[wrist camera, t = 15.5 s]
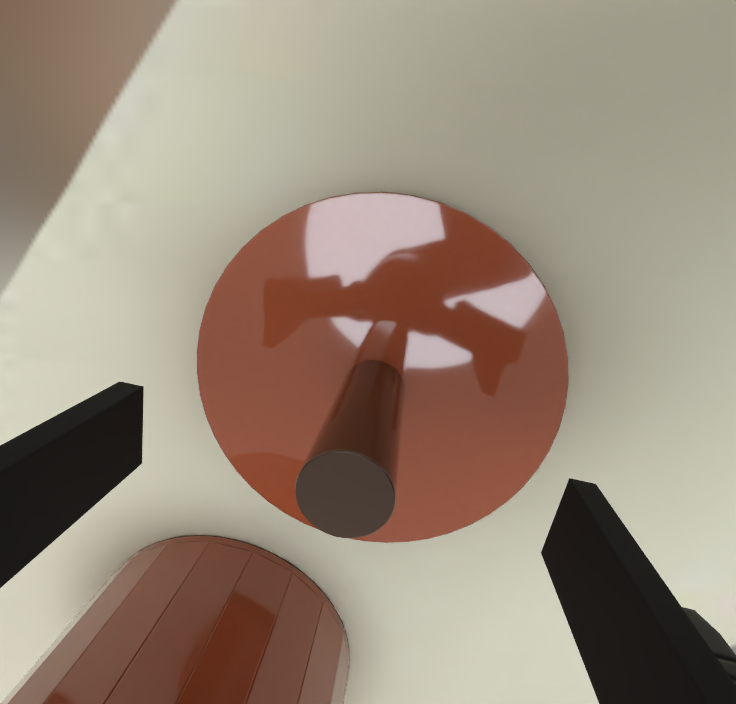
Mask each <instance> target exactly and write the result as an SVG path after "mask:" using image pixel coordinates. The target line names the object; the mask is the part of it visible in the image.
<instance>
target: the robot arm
mask: <svg viewBox="0 0 736 704" xmlns="http://www.w3.org/2000/svg"><path fill="white" fill-rule="evenodd" d="M142 432H143V386H138V385H133V384H129V383H124V382H118V383H116V384H114V385H112V386H111V387H109V388H107V389H105V390H103V391H101V392H99V393H98V394H96V395H94V396H92V397H90V398H88V399H86V400H85V401H83V402H81V403H79V404H77V405H75V406H73V407H71V408H70V409H68V410H66V411H64V412H62V413H60V414H58V415H57V416H55V417H53V418H51V419H49V420H47V421H45V422H43V423H42V424H40V425H38V426H36V427H34V428H32V429H30V430H29V431H27V432H25V433H23V434H21V435H19V436H17V437H15V438H14V439H12V440H10V441H8V442H6V443H4V444H2V445H1V446H0V588H1V587H2V586H3V585H4V584H5V583H6V582H8V581H9V580H10V579H11V578H12V577H13V576H14V575H16V574H17V573H18V572H19V571H20V570H21V569H22V568H24V567H25V566H26V565H27V564H28V563H29V562H30V561H31V560H33V559H34V558H35V557H36V556H37V555H38V554H39V553H41V552H42V551H43V550H44V549H45V548H46V547H47V546H49V545H50V544H51V543H52V542H53V541H54V540H55V539H56V538H58V537H59V536H60V535H61V534H62V533H63V532H64V531H66V530H67V529H68V528H69V527H70V526H71V525H72V524H74V523H75V522H76V521H77V520H78V519H79V518H80V517H81V516H83V515H84V514H85V513H86V512H87V511H88V510H89V509H91V508H92V507H93V506H94V505H95V504H96V503H97V502H99V501H100V500H101V499H102V498H103V497H104V496H105V495H106V494H108V493H109V492H110V491H111V490H112V489H113V488H114V487H116V486H117V485H118V484H119V483H120V482H121V481H122V480H124V479H125V478H126V477H127V476H128V475H129V474H130V473H131V472H133V471H134V470H135V469H136V468H137V467H138V466H139V465H141V464H142ZM541 554H542V556H543V559H544V561H545V564H546V567H547V569H548V572H549V574H550V577H551V580H552V582H553V585H554V587H555V590H556V593H557V595H558V598H559V600H560V603H561V605H562V608H563V611H564V613H565V616H566V618H567V621H568V624H569V626H570V629H571V631H572V634H573V637H574V639H575V642H576V644H577V647H578V649H579V652H580V655H581V657H582V660H583V662H584V665H585V668H586V670H587V673H588V675H589V678H590V681H591V683H592V686H593V688H594V691H595V693H596V696H597V699H598V701H599V704H736V655H735V653H734V652H733V651H732V649H731V648H730V647H729V645H728V644H727V643H726V641H725V640H724V639H723V637H722V636H721V635H720V633H718V632H717V631H716V630H715V629H714V628H713V627H712V626H711V625H710V624H709V623H708V622H707V621H706V620H704V619H703V618H702V617H701V616H700V615H699V614H698V613H697V612H696V611H695V610H692V609H687V608H683V607H681V606H680V604H679V603H678V601H677V600H676V598H675V597H674V596H673V594H672V593H671V591H670V590H669V588H668V587H667V586H666V584H665V583H664V581H663V580H662V578H661V577H660V576H659V574H658V573H657V571H656V570H655V568H654V567H653V565H652V564H651V563H650V561H649V560H648V558H647V557H646V555H645V554H644V553H643V551H642V550H641V548H640V547H639V545H638V544H637V543H636V541H635V540H634V538H633V537H632V535H631V534H630V533H629V531H628V530H627V528H626V527H625V525H624V524H623V523H622V521H621V520H620V518H619V517H618V515H617V514H616V512H615V511H614V510H613V508H612V507H611V505H610V504H609V502H608V501H607V500H606V498H605V497H604V495H603V494H602V492H601V491H600V490H599V488H598V487H597V485H596V484H593V483H589V482H584V481H579V480H575V479H570V478H569V481H568V484H567V486H566V489H565V491H564V494H563V497H562V499H561V502H560V505H559V507H558V510H557V512H556V515H555V518H554V520H553V523H552V526H551V528H550V531H549V533H548V536H547V539H546V541H545V544H544V546H543V549H542V552H541Z"/></svg>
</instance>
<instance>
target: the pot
mask: <svg viewBox="0 0 736 704" xmlns="http://www.w3.org/2000/svg"><path fill="white" fill-rule="evenodd" d="M348 672H349V646H348V642H347V637H346V633H345V630H344V627H343V625H342V622H341V619H340V618H339V616H338V614H337V612H336V610H335V608H334V607H333V605H332V604H331V602H330V601H329V600H328V598H327V597H326V596H325V594H324V593H323V592H322V591H321V590H320V589H319V588H318V587H317V586H316V585H315V583H314V582H313V581H311V580H310V579H309V578H308V577H307V576H306V575H304V574H303V573H302V572H301V571H300V570H298V569H297V568H295V567H294V566H292V565H291V564H289V563H288V562H286V561H285V560H283V559H281V558H279V557H278V556H276V555H274V554H272V553H270V552H268V551H266V550H263V549H261V548H258V547H256V546H253V545H250V544H247V543H244V542H240V541H237V540H232V539H227V538H221V537H213V536H184V537H178V538H172V539H167V540H164V541H161V542H158V543H155V544H153V545H150V546H148V547H146V548H144V549H142V550H141V551H139V552H138V553H136V554H135V555H133V556H132V557H130V558H129V559H128V560H127V561H126V562H125V563H124V564H123V565H122V566H121V567H120V569H119V570H118V571H116V572H115V573H114V574H113V575H112V576H111V577H110V578H109V579H108V581H107V582H106V583H105V584H104V585H103V586H102V587H101V589H100V590H99V591H98V592H97V593H96V594H95V596H94V597H93V598H92V599H91V600H90V601H89V602H88V604H87V605H86V606H85V607H84V608H83V609H82V610H81V612H80V613H79V614H78V615H77V616H76V617H75V619H74V620H73V621H72V622H71V623H70V624H69V625H68V627H67V628H66V629H65V630H64V631H63V632H62V633H61V635H60V636H59V637H58V638H57V639H56V640H55V642H54V643H53V644H52V645H51V646H50V647H49V648H48V650H47V651H46V652H45V653H44V654H43V655H42V656H41V658H40V659H39V660H38V661H37V662H36V663H35V665H34V666H33V667H32V668H31V669H30V670H29V671H28V673H27V674H26V675H25V676H24V677H23V678H22V679H21V681H20V682H19V683H18V684H17V685H16V686H15V688H14V689H13V690H12V691H11V692H10V693H9V694H8V696H7V697H6V698H5V699H4V700H3V701H2V702H1V704H344V697H345V691H346V685H347V678H348Z"/></svg>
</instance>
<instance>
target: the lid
mask: <svg viewBox="0 0 736 704" xmlns="http://www.w3.org/2000/svg"><path fill="white" fill-rule="evenodd" d="M197 376H198V383H199V390H200V396H201V400H202V403H203V407H204V411H205V414H206V417H207V420H208V422H209V424H210V427H211V429H212V432H213V434H214V436H215V438H216V440H217V442H218V443H219V445H220V447H221V449H222V450H223V452H224V454H225V455H226V457H227V458H228V460H229V461H230V462H231V464H232V465H233V466H234V468H235V469H236V471H237V472H238V473H239V474H240V475H241V476H242V477H243V478H244V479H245V481H246V482H247V483H248V484H249V485H250V486H251V487H252V488H253V489H254V490H255V491H257V492H258V493H259V494H260V495H261V496H262V497H264V498H265V499H266V500H267V501H268V502H270V503H271V504H273V505H274V506H276V507H277V508H278V509H280V510H281V511H283V512H284V513H286V514H288V515H289V516H291V517H293V518H295V519H297V520H299V521H301V522H302V523H304V524H307V525H309V526H312V527H314V528H316V529H319V530H321V531H323V532H325V533H327V534H330V535H333V536H336V537H342V538H351V539H356V540H362V541H371V542H385V543H388V542H409V541H416V540H422V539H429V538H433V537H436V536H440V535H444V534H448V533H451V532H453V531H456V530H458V529H461V528H463V527H466V526H468V525H471V524H473V523H474V522H476V521H478V520H480V519H482V518H484V517H485V516H487V515H489V514H491V513H492V512H493V511H495V510H496V509H497V508H499V507H500V506H502V505H503V504H504V503H506V502H507V501H508V500H509V499H510V498H512V497H513V496H514V495H515V494H516V493H517V492H518V491H519V490H520V489H521V488H522V487H523V486H524V485H525V484H526V483H527V482H528V480H529V479H530V478H531V477H532V475H533V474H534V473H535V472H536V471H537V469H538V468H539V466H540V465H541V463H542V461H543V460H544V458H545V457H546V455H547V453H548V452H549V450H550V448H551V446H552V443H553V441H554V439H555V437H556V434H557V432H558V430H559V427H560V423H561V420H562V416H563V412H564V409H565V404H566V397H567V389H568V356H567V350H566V344H565V338H564V333H563V330H562V327H561V323H560V320H559V317H558V314H557V311H556V309H555V307H554V305H553V302H552V300H551V298H550V296H549V294H548V292H547V290H546V288H545V286H544V285H543V283H542V282H541V281H540V279H539V278H538V276H537V275H536V273H535V272H534V270H533V269H532V267H531V266H530V265H529V263H528V262H527V261H526V260H525V259H524V258H523V257H522V256H521V255H520V254H519V253H518V252H517V251H516V250H515V248H514V247H513V246H512V245H511V244H510V243H508V242H507V241H506V240H505V239H503V238H502V237H501V236H500V235H498V234H497V233H496V232H495V231H493V230H492V229H491V228H490V227H488V226H486V225H485V224H483V223H481V222H480V221H478V220H476V219H475V218H473V217H471V216H470V215H468V214H466V213H464V212H462V211H459V210H457V209H455V208H452V207H450V206H447V205H445V204H443V203H440V202H437V201H433V200H429V199H425V198H421V197H418V196H414V195H406V194H398V193H389V192H366V193H353V194H347V195H341V196H335V197H330V198H327V199H323V200H320V201H317V202H314V203H311V204H308V205H305V206H303V207H301V208H299V209H296V210H294V211H292V212H290V213H288V214H286V215H284V216H282V217H280V218H279V219H278V220H276V221H275V222H273V223H272V224H270V225H269V226H267V227H266V228H264V229H263V230H261V231H260V232H259V233H258V234H257V235H256V236H254V237H253V238H252V239H251V240H250V241H249V242H248V243H247V244H246V245H245V246H243V247H242V249H241V250H240V251H239V252H238V253H237V255H236V256H235V257H234V258H233V259H232V261H231V262H230V263H229V264H228V266H227V267H226V269H225V270H224V272H223V274H222V275H221V277H220V279H219V280H218V282H217V283H216V285H215V287H214V289H213V292H212V294H211V296H210V299H209V301H208V303H207V306H206V309H205V312H204V316H203V320H202V323H201V327H200V332H199V340H198V348H197Z"/></svg>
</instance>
